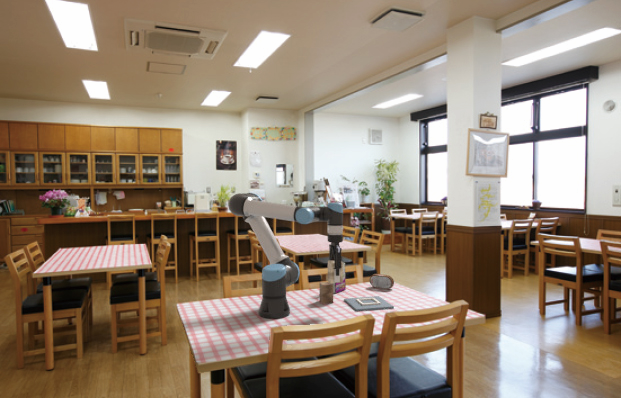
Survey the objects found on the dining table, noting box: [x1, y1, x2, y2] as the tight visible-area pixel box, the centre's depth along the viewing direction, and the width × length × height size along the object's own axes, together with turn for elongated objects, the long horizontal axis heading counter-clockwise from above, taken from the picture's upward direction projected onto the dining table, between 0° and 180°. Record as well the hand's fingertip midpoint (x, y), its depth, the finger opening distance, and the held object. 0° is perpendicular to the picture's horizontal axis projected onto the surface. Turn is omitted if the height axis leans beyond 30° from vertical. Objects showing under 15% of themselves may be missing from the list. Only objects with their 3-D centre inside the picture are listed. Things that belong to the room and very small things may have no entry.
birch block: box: [327, 259, 344, 283], centre depth 201 cm, size 6×6×10 cm
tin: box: [369, 273, 395, 290], centre depth 247 cm, size 15×3×8 cm, turn 58°
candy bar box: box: [332, 262, 347, 294], centre depth 241 cm, size 11×5×16 cm, turn 143°
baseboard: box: [343, 295, 395, 312], centre depth 213 cm, size 20×20×1 cm
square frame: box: [356, 298, 381, 306], centre depth 213 cm, size 10×10×1 cm
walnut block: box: [319, 281, 334, 305], centre depth 219 cm, size 6×6×10 cm
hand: (335, 280), depth 201 cm, fingers closed on birch block, 6 cm apart
